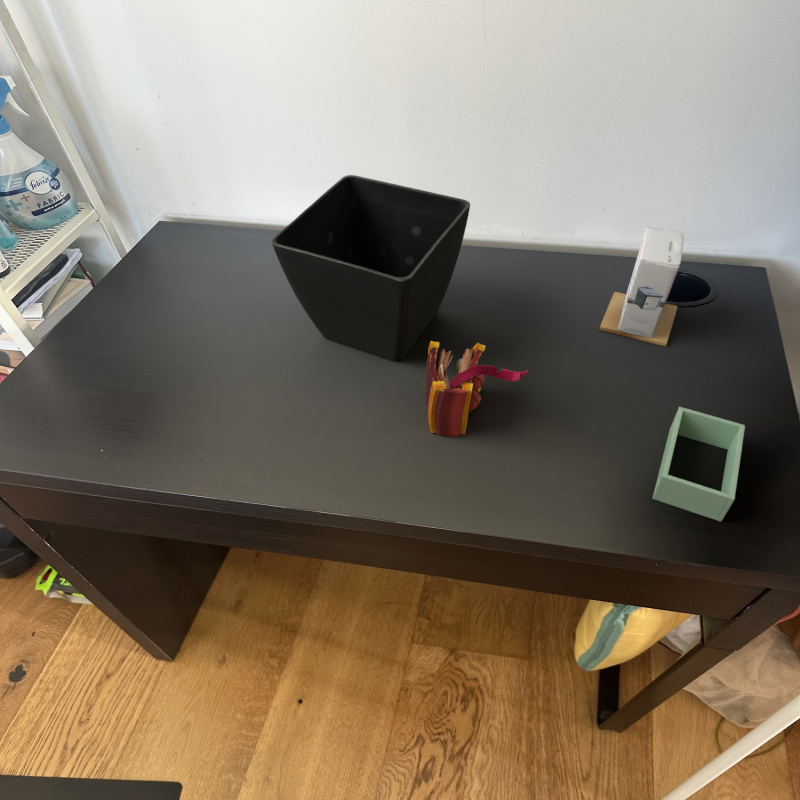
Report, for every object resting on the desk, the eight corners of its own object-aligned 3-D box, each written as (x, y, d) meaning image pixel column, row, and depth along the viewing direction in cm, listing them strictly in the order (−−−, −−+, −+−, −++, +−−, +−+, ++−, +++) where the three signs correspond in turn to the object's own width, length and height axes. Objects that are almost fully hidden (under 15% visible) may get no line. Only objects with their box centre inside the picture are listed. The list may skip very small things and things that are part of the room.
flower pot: (410, 387, 81) (407, 278, 69) (289, 346, 87) (266, 240, 75) (467, 305, 92) (473, 200, 80) (356, 275, 99) (346, 173, 87)
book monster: (427, 380, 81) (519, 398, 79) (411, 432, 75) (510, 453, 74) (431, 317, 73) (534, 335, 72) (414, 370, 67) (525, 391, 66)
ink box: (625, 296, 92) (645, 224, 83) (661, 303, 90) (685, 230, 82) (617, 332, 86) (637, 258, 78) (655, 339, 85) (680, 266, 76)
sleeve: (732, 448, 72) (745, 425, 69) (721, 522, 65) (734, 499, 62) (669, 429, 74) (679, 406, 72) (652, 498, 68) (662, 476, 65)
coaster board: (676, 309, 90) (677, 306, 90) (665, 346, 85) (666, 343, 84) (613, 294, 93) (614, 291, 93) (599, 329, 88) (600, 326, 87)
